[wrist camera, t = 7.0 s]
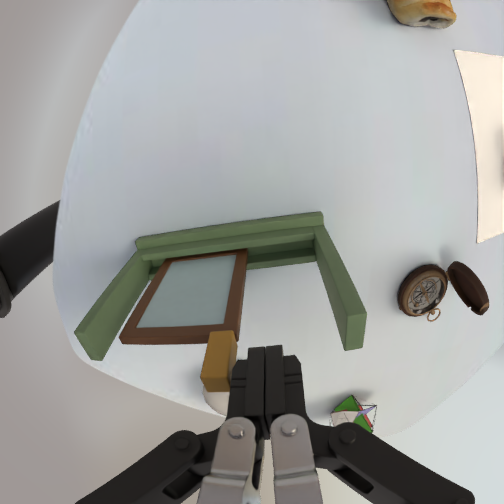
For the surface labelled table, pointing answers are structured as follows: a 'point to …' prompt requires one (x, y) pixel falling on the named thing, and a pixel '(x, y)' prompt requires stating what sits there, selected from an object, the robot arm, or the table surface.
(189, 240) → the window frame
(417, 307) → the compass
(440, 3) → the pastry
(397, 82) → the table surface
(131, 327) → the sash
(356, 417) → the geometric puzzle
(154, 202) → the table surface
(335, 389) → the table surface
